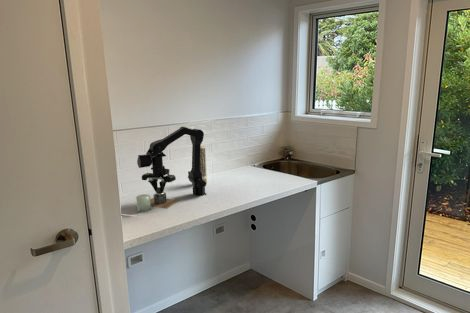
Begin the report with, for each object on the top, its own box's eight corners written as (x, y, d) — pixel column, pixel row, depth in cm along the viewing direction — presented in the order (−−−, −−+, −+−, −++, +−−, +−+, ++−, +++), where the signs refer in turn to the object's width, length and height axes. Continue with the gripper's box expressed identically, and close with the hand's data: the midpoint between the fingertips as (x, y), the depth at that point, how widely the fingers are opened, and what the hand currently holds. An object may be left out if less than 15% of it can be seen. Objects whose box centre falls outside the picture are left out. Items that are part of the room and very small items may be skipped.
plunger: (165, 199, 201) (164, 187, 200) (161, 201, 197) (160, 189, 196) (159, 198, 203) (158, 186, 201) (154, 200, 199) (153, 188, 198)
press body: (170, 200, 204) (169, 192, 203) (162, 205, 196) (161, 197, 195) (160, 199, 206) (159, 191, 205) (151, 203, 199) (151, 195, 198)
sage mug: (153, 209, 192) (152, 195, 191) (143, 215, 184) (142, 200, 183) (143, 208, 195) (141, 193, 193) (132, 213, 187) (131, 198, 186)
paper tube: (196, 183, 240) (194, 146, 235) (206, 182, 241) (205, 145, 235) (196, 185, 233) (194, 148, 228) (206, 185, 234) (205, 147, 229)
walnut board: (180, 201, 203) (180, 200, 203) (167, 209, 191) (167, 208, 191) (154, 198, 210) (154, 197, 210) (139, 206, 198) (139, 204, 198)
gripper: (179, 162, 200) (181, 189, 203) (151, 161, 207) (154, 187, 210) (169, 167, 190) (171, 195, 193) (139, 165, 197) (142, 192, 200)
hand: (159, 192), depth 199 cm, fingers closed on plunger, 3 cm apart
